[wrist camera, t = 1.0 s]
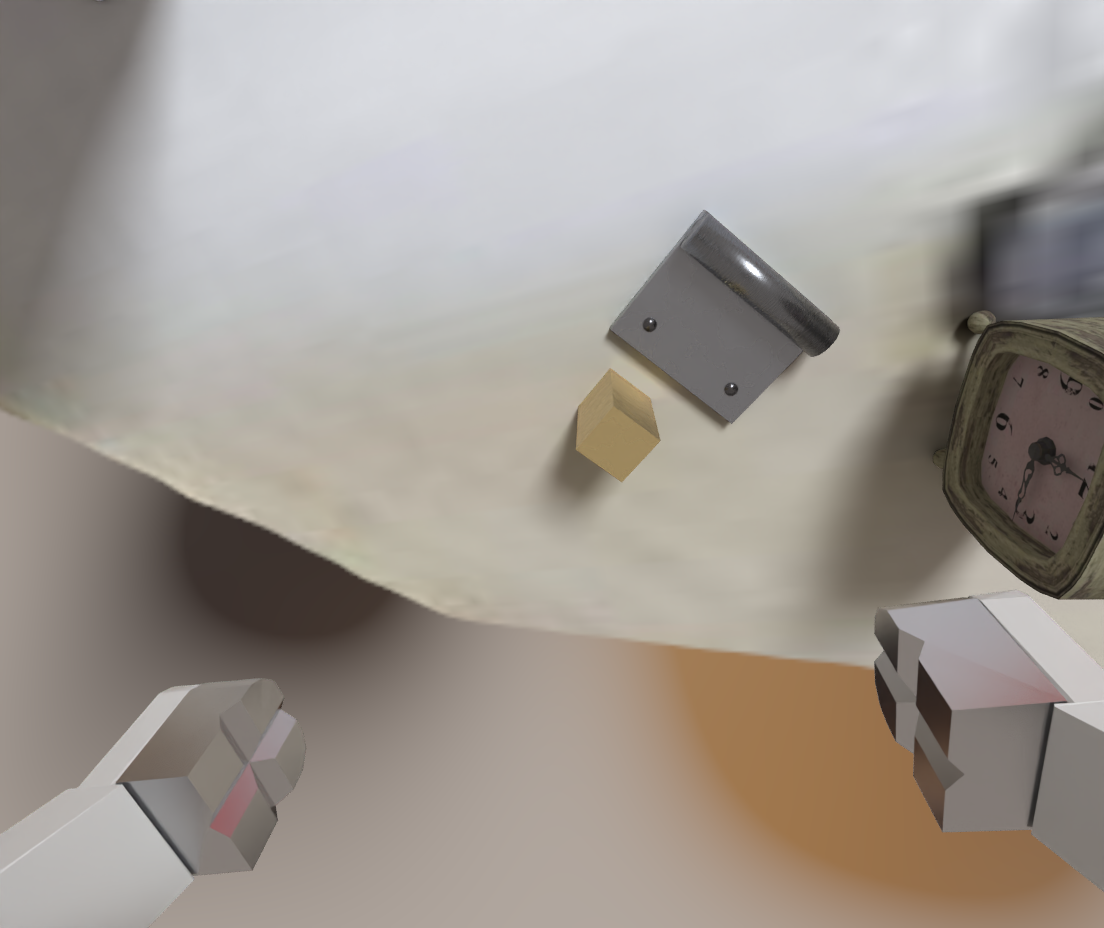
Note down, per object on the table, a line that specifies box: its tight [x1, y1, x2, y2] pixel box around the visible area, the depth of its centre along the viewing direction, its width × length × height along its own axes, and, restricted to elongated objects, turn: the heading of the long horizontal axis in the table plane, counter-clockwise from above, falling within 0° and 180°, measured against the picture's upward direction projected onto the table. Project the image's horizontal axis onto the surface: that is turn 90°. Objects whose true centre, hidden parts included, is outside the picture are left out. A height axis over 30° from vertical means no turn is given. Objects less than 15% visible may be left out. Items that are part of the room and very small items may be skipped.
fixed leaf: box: [610, 210, 840, 424], centre depth 42 cm, size 10×12×4 cm
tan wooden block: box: [576, 368, 660, 482], centre depth 44 cm, size 4×4×8 cm
